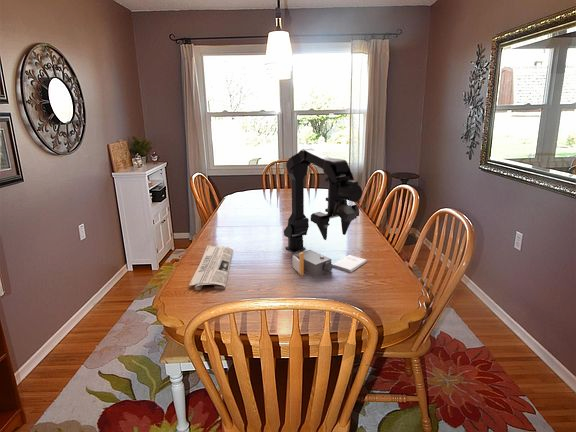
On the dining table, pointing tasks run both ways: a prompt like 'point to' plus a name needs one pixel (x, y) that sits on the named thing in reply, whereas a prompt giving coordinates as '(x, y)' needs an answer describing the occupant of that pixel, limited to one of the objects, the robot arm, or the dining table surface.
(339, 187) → the robot arm
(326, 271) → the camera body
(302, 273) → the side door
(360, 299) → the dining table surface
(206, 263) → the newspaper
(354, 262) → the external hard drive
